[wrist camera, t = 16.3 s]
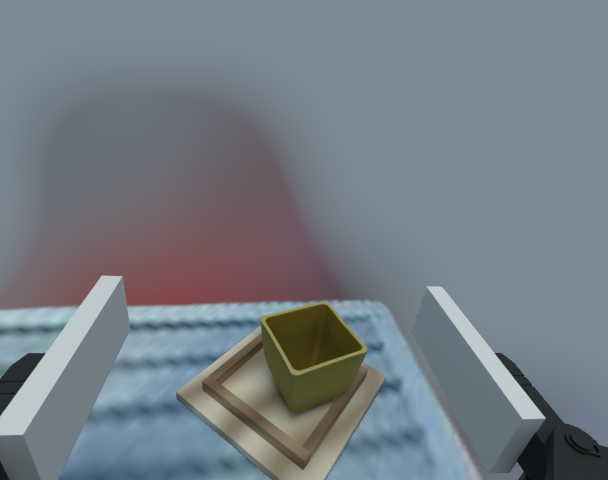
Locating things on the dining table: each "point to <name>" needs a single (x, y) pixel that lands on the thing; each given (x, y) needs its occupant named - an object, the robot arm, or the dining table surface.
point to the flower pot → (311, 354)
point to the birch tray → (276, 413)
